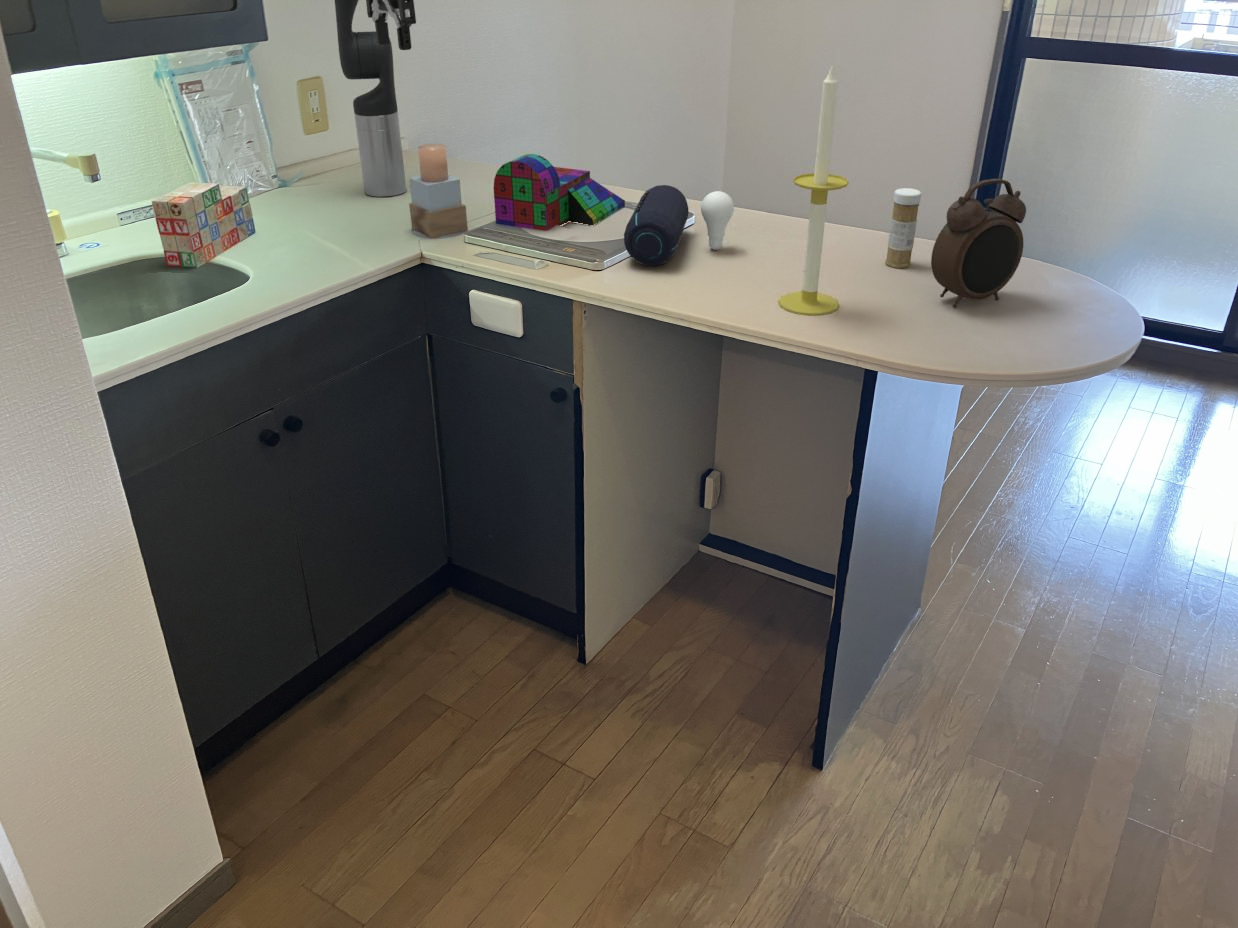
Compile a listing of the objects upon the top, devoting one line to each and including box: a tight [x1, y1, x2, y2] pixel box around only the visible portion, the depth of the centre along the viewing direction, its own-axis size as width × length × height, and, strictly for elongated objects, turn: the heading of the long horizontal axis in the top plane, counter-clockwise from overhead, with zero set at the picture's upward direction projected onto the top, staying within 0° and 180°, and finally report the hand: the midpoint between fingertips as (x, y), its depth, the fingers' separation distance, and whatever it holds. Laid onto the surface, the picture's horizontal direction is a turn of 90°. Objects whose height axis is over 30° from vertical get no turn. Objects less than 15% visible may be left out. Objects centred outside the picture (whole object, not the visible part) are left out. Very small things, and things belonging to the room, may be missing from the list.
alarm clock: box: [930, 178, 1027, 309], centre depth 162 cm, size 15×7×20 cm, turn 114°
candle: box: [777, 63, 850, 316], centre depth 157 cm, size 10×10×38 cm
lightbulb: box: [700, 190, 735, 251], centre depth 188 cm, size 6×6×11 cm
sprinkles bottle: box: [885, 187, 922, 269], centre depth 180 cm, size 5×5×13 cm
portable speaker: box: [623, 184, 689, 267], centre depth 189 cm, size 25×10×10 cm, turn 171°
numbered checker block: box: [493, 153, 626, 232], centre depth 206 cm, size 25×17×14 cm
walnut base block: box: [408, 202, 469, 238], centre depth 197 cm, size 8×8×5 cm
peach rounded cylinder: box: [417, 143, 449, 182], centre depth 192 cm, size 5×5×6 cm
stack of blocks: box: [151, 182, 256, 269], centre depth 189 cm, size 21×6×12 cm, turn 169°
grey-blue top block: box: [408, 174, 463, 212], centre depth 195 cm, size 7×7×5 cm
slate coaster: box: [411, 226, 469, 240], centre depth 199 cm, size 11×11×1 cm
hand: (394, 47), depth 186 cm, fingers open, 8 cm apart
